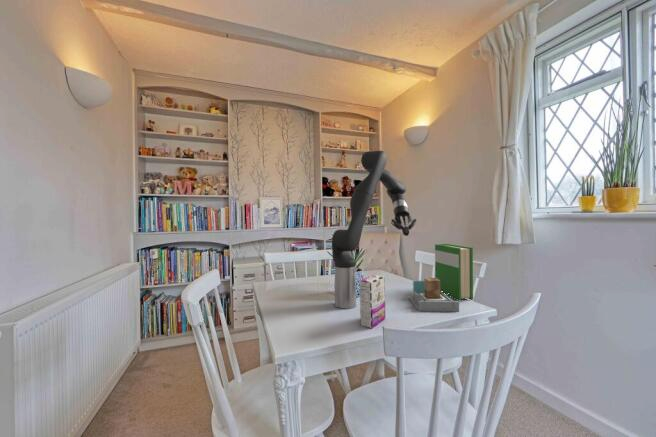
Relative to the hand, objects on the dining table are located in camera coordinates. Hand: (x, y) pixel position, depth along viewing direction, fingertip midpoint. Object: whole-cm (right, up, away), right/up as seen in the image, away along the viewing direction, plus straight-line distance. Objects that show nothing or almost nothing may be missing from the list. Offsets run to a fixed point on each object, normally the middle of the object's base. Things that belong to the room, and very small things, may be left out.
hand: (406, 234), depth 127 cm
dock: (+8, -30, -11) cm, 33 cm away
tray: (+8, -28, -11) cm, 31 cm away
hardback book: (+24, -30, +2) cm, 38 cm away
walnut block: (+8, -28, -12) cm, 31 cm away
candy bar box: (-21, -31, -30) cm, 48 cm away
